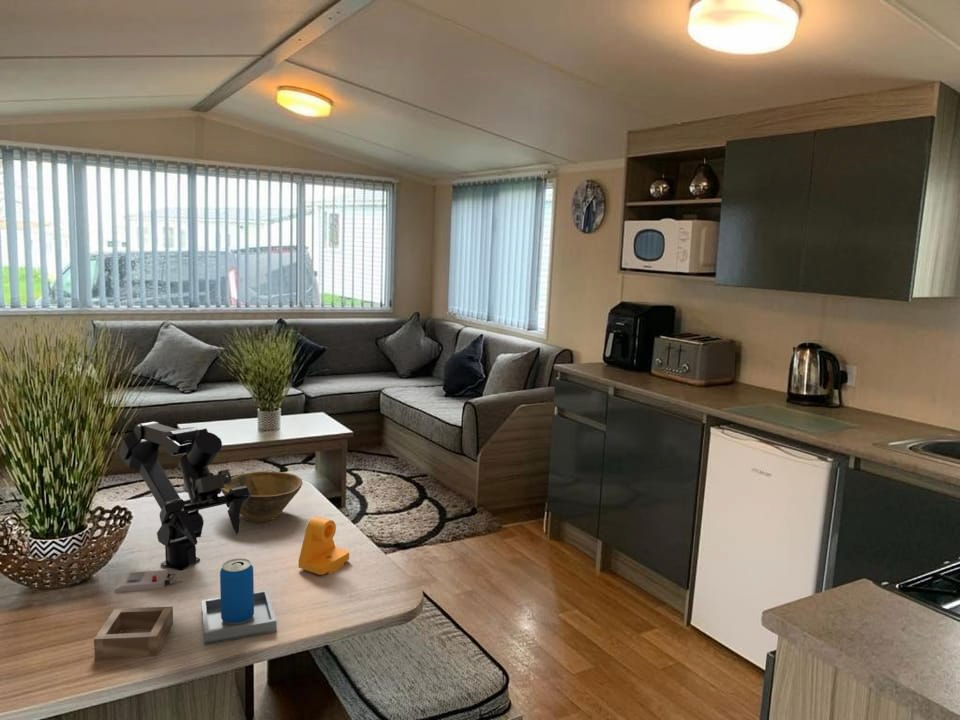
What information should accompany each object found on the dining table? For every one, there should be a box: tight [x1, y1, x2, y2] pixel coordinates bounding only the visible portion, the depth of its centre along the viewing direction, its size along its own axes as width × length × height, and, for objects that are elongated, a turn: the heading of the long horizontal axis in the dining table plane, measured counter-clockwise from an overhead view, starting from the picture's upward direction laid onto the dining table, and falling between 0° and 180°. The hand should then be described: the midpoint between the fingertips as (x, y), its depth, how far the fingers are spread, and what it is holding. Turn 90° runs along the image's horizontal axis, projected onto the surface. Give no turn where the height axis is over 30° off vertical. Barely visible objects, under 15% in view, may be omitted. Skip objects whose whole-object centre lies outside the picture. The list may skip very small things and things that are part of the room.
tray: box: [200, 589, 277, 646], centre depth 144 cm, size 14×14×2 cm
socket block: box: [93, 605, 174, 660], centre depth 135 cm, size 11×11×4 cm
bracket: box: [298, 515, 350, 575], centre depth 169 cm, size 11×7×12 cm, turn 151°
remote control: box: [113, 569, 183, 593], centre depth 158 cm, size 7×16×3 cm, turn 105°
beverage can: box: [219, 557, 255, 625], centre depth 143 cm, size 6×6×12 cm
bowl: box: [221, 470, 303, 523], centre depth 199 cm, size 22×23×10 cm
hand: (217, 538), depth 151 cm, fingers open, 9 cm apart
